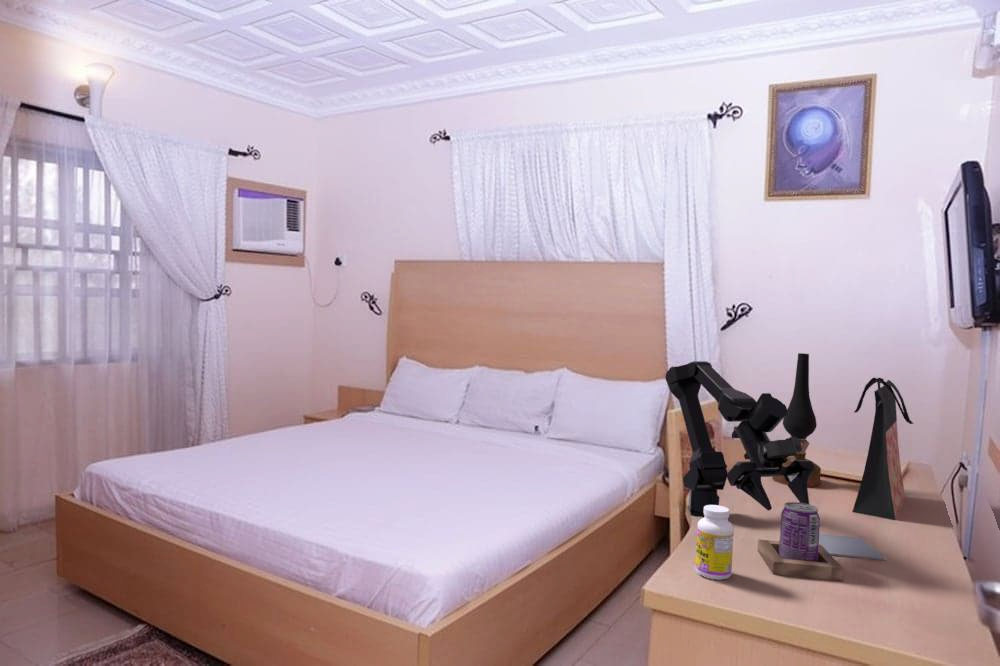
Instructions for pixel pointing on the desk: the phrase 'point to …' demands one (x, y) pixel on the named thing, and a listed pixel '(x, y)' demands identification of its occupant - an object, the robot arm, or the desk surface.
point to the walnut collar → (800, 563)
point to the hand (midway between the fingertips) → (789, 508)
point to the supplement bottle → (714, 543)
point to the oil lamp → (801, 419)
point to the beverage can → (799, 532)
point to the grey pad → (848, 547)
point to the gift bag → (882, 457)
